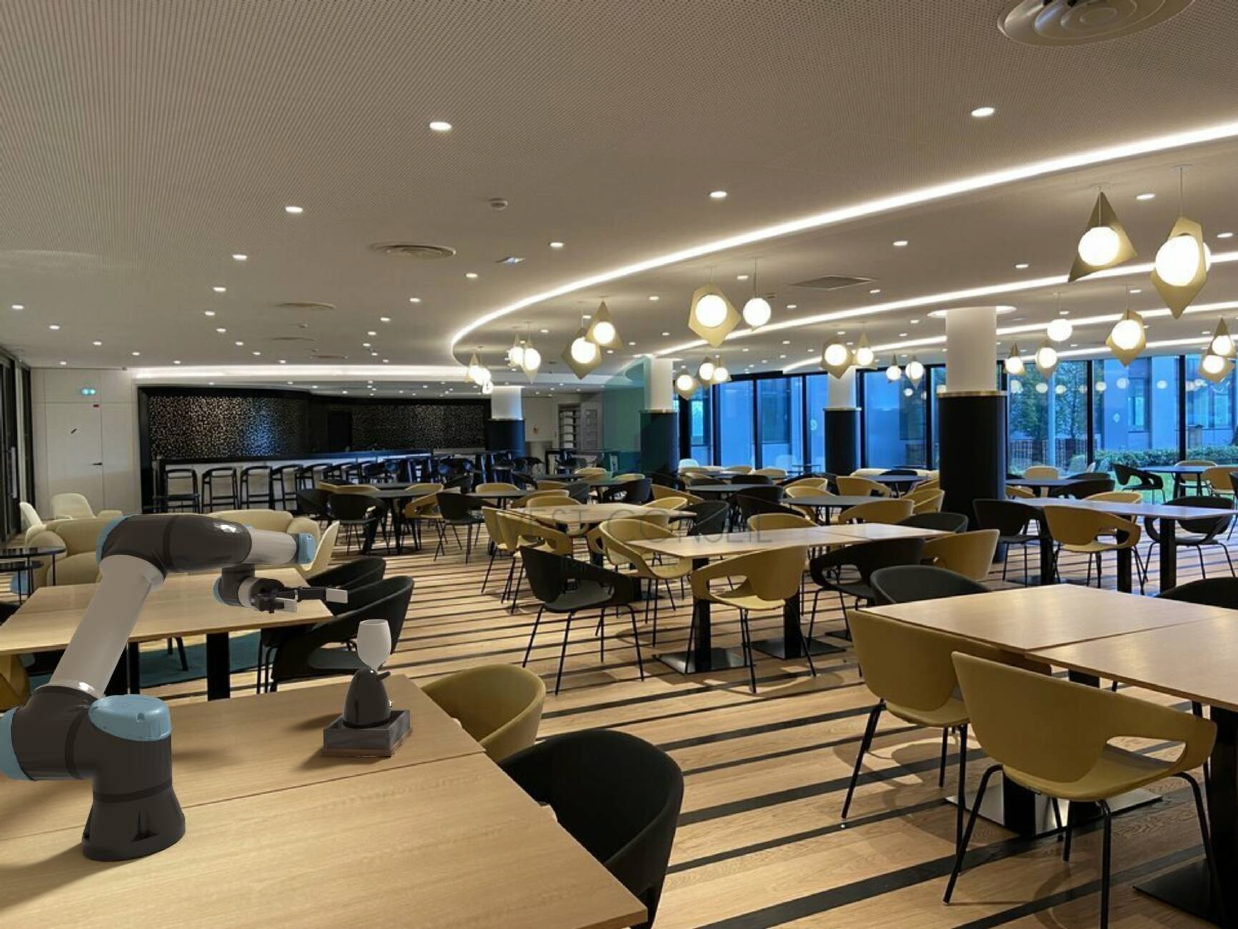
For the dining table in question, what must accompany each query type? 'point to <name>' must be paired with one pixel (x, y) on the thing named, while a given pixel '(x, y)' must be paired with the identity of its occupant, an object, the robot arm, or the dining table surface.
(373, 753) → the holder
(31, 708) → the robot arm
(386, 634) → the wineglass
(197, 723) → the dining table surface
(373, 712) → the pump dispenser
